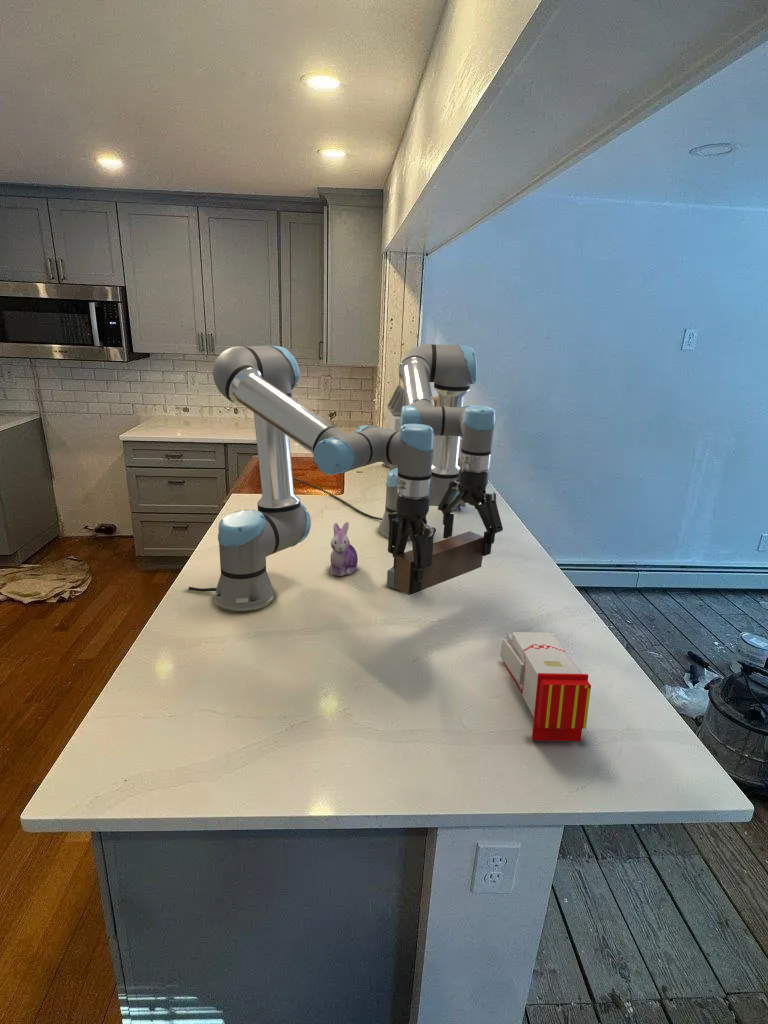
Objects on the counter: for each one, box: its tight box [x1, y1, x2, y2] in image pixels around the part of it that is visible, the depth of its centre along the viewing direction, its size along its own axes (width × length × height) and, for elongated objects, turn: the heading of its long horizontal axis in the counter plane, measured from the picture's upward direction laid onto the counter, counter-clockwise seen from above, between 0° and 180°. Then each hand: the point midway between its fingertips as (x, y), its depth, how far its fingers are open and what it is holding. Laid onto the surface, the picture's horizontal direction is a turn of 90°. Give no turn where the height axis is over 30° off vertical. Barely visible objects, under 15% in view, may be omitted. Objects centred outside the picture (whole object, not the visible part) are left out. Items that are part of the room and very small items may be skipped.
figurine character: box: [456, 501, 466, 511], centre depth 229 cm, size 7×8×15 cm
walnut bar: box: [395, 530, 484, 596], centre depth 140 cm, size 26×5×8 cm, turn 131°
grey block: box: [386, 566, 399, 591], centre depth 162 cm, size 5×5×5 cm
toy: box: [499, 631, 592, 742], centre depth 117 cm, size 12×13×30 cm
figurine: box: [329, 521, 359, 577], centre depth 168 cm, size 9×10×15 cm
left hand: (407, 587), depth 134 cm, fingers closed on walnut bar, 5 cm apart
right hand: (466, 545), depth 150 cm, fingers open, 13 cm apart
